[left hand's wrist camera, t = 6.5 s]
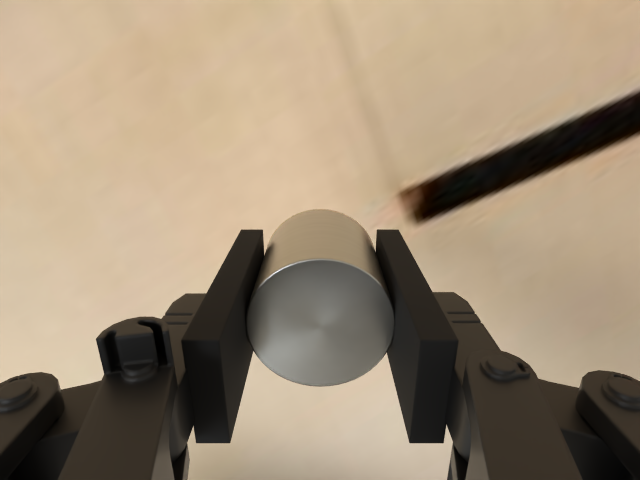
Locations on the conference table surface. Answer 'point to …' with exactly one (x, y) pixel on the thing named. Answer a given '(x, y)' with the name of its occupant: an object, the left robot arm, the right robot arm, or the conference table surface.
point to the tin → (320, 301)
